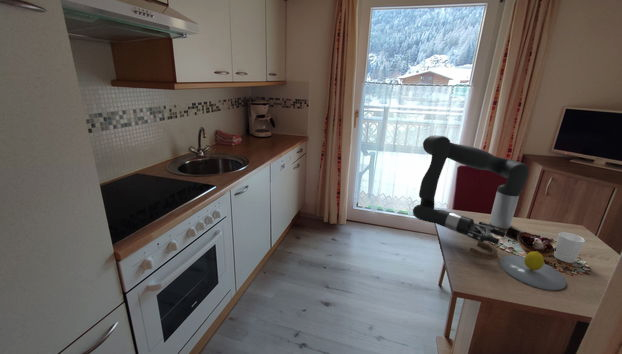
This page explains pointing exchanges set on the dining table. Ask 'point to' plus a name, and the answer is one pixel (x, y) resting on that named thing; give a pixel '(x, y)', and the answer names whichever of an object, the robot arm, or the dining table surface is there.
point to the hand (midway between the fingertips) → (501, 238)
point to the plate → (532, 273)
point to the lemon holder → (484, 254)
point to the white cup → (568, 247)
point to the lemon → (534, 260)
